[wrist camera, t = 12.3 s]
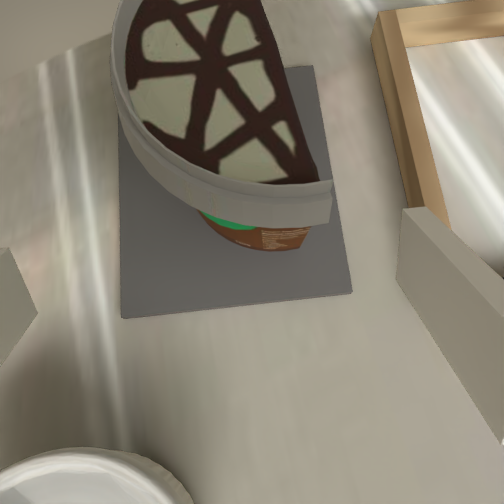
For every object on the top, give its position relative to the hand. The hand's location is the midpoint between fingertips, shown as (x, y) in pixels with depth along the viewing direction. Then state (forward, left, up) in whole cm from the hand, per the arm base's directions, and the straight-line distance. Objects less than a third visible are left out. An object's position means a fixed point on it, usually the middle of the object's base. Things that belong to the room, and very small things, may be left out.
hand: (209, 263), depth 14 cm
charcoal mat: (0, -7, -8) cm, 10 cm away
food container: (0, -6, -8) cm, 10 cm away
